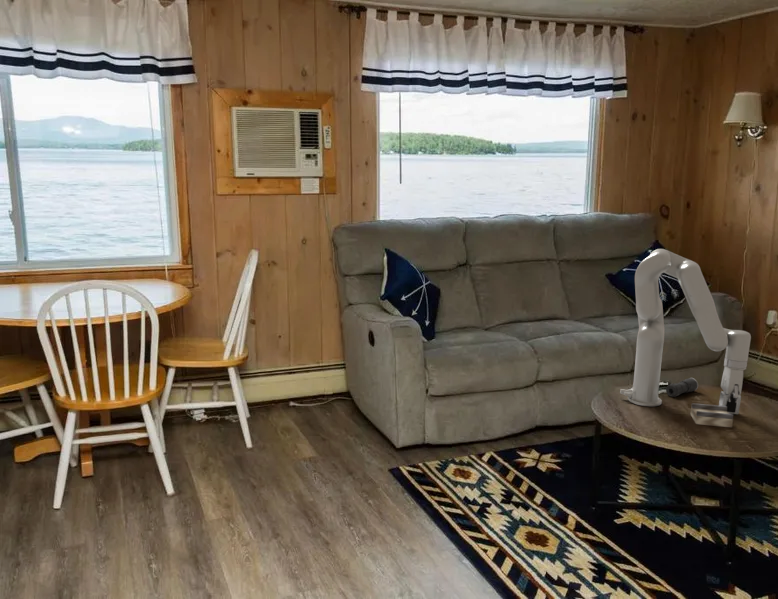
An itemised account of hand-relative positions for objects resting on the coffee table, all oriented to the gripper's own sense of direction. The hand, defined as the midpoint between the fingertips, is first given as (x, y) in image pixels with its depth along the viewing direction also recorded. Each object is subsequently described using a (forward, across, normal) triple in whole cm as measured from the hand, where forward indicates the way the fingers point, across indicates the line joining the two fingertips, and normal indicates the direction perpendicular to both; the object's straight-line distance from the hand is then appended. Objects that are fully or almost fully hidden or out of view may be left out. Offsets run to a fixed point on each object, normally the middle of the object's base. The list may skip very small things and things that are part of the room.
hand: (728, 408), depth 256 cm
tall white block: (+1, 0, 0) cm, 1 cm away
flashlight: (+3, -20, -13) cm, 24 cm away
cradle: (+2, +10, -8) cm, 13 cm away
